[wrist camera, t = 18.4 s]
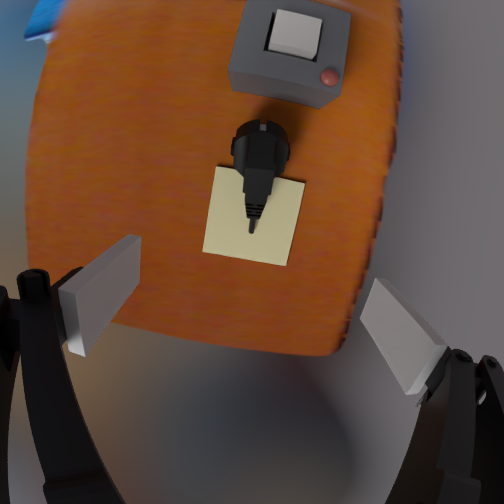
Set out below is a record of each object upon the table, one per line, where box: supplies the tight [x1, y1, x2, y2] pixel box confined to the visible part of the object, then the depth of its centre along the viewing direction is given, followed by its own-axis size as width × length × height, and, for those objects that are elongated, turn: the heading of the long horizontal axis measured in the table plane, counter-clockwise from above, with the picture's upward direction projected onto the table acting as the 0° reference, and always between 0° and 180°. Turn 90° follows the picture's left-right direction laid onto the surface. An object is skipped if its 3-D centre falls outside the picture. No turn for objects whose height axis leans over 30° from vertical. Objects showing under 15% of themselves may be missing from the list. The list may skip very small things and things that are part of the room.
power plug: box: [231, 119, 290, 234], centre depth 28 cm, size 6×8×12 cm
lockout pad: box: [203, 166, 305, 266], centre depth 32 cm, size 10×10×1 cm
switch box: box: [228, 0, 351, 109], centre depth 22 cm, size 10×10×8 cm
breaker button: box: [268, 9, 322, 61], centre depth 19 cm, size 4×4×4 cm
